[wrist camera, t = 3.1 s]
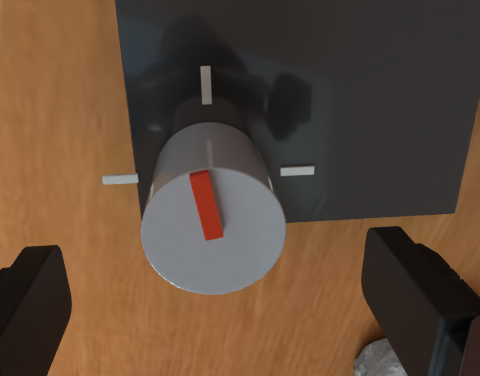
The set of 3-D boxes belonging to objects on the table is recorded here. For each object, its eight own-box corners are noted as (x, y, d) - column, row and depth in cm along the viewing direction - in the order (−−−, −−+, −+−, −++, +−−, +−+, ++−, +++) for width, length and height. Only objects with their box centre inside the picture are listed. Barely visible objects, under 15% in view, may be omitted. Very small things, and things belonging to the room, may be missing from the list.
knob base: (127, 234, 22) (116, 270, 19) (91, -26, 17) (69, -31, 14) (417, 218, 23) (449, 249, 20) (461, -30, 18) (511, -35, 15)
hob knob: (271, 210, 18) (297, 284, 13) (171, 231, 18) (161, 313, 13) (253, 111, 16) (276, 156, 12) (142, 134, 16) (119, 190, 12)
